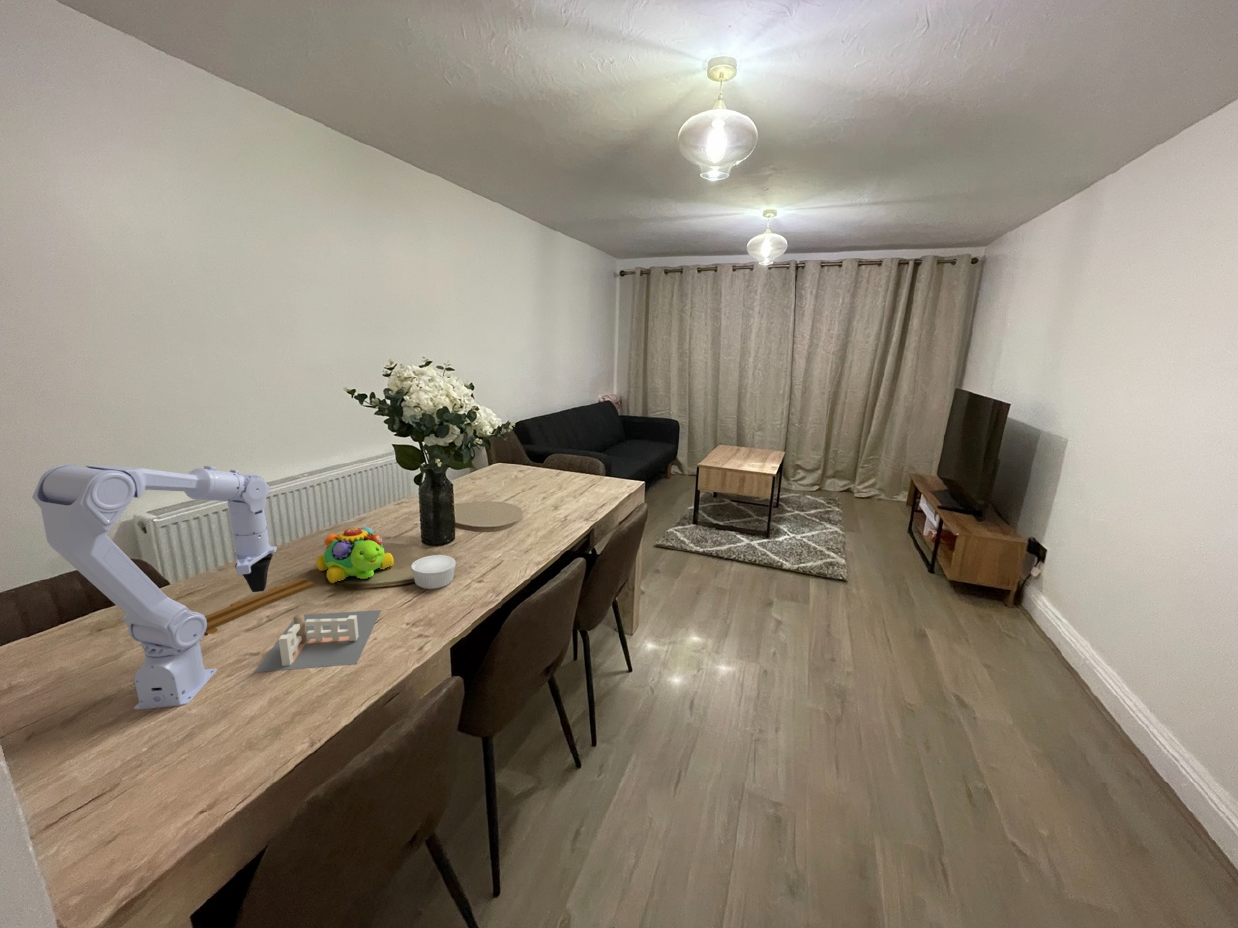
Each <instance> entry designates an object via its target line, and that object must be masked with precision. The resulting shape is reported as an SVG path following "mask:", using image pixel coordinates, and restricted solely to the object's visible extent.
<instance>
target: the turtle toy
mask: <svg viewBox="0 0 1238 928" xmlns="http://www.w3.org/2000/svg"><path fill="white" fill-rule="evenodd" d="M324 544H325V545H326V547H325V548H326V549H325V552H324V554H321V555H320V556H317V558H316V560H315V561H316V564H315V565H316V568H317V569H318V571H320V572H324V571H325V570H326V579H327V580H328V582H329V583H330V584H336V583H335V582H337V581H339V580H342V579H345V580H346V579H347V578H349V577H356V578H357V579H359V578H360V580H364V579H369V578H371V576H372V577H373V576H375V575H374V574H375V573H374V571H375V570H379V569H378V568H385V567H389V566H392V565H393V566H394V563H395V562H394V561H395V560H394V557H393V555H392V554H391V553H390V552H385V549H384V547H383V538H382V537H381V536H380V535H379V534H376V533H374V532H373V529H372V528H370V527H367V526H362V527H361V528H360V527H350V528H347V529H344V531H343V532H341V533H337V535H336V534H335V533H330V534H329V535H328V536H327V537H326V538H325V540H324ZM393 566H392V567H393ZM327 569H328V570H327ZM346 577H347V578H346ZM368 577H369V578H368ZM337 583H338V582H337Z"/></svg>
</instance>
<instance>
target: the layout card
mask: <svg viewBox="0 0 1238 928" xmlns="http://www.w3.org/2000/svg"><path fill="white" fill-rule="evenodd" d="M381 612H382V609H376V610H361V611H360V610H358V611H345V612H341V611H340V612H329V613H326V612H325V613H313V614H303V615H304V620H305V621H306V620H307V619H333V618H348V617H349V616H350V615H357V625H358V635H359V637H358V638H357V640H356V641H349V636H340V639H339V640H338V641H332V637H324V639H323V640H322V641H316V640H315V637H307V642H306V643H304V644H299V645H298V652H297V653H296V655H293V662H292V664H291V665H288V666H282V660H281V653H280V646H279V639H278V640H277V641H276V643H275V644H274V646H272V648H271V650H270V651H269V652H268V654H267V655H266V656H265V657H264V659H262V661H261V663H260V664H259V665H258V667H257V668H256V670H254V672H253V673H254V674H255V673H264V672H265V673H266V672H276V671H279V672H280V671H291V670H302V669H311V668H312V669H315V668H324V667H325V668H326V667H327V668H328V667H337V666H338V667H339V666H347V665H348V666H350V665H357V663H358V661H359V660H360V658H361V656H362V653H363V651H364V649H365V646H366V645H367V643H368V640H369V639H370V636H371V634H372V632H373V630H374V627H375V625H376V622H377V620H378V619H379V616H380V614H381ZM293 625H294V619H293V620H292V621H291V623H290V624H289V625H288V626H287V628H286V629H285V631H283V633H282V635H287V633H288V630H289V629H290V628H292V627H293ZM305 628H306V633H307V632H308V631H310V630H314V626H305ZM322 628H323V630H331V625H328V626H322ZM342 629H348V625H339V630H342ZM306 636H307V634H306Z"/></svg>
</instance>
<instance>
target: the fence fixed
mask: <svg viewBox="0 0 1238 928" xmlns="http://www.w3.org/2000/svg"><path fill="white" fill-rule="evenodd" d="M304 615H305V614H298V615H295V616H294V617H293V620H294V625H293V627H292V628H290V629H289V630H288V633H287V635H283V634H281V635H280V637H279V638H278V640H279V646H280V653H281V660H282V666H288V665H291V664H292V662H293V655H296V653H297V652H298V645H299V644H304V643H306V642H307V636H306V628H305V620H304Z"/></svg>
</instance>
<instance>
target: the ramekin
mask: <svg viewBox="0 0 1238 928" xmlns="http://www.w3.org/2000/svg"><path fill="white" fill-rule="evenodd" d="M456 564H457V561H456V560H455V559H454V558H453V557H451V556H449V555H445V554H444V555H443V554H434V555H428V556H427V555H426V556H424V557H421V558H419V559H417V560H414V562H412V564H411V565H410V569H411V572H412V576H413V580H414V583H415V584H416V586H418V587H419V588H421V589H425V590H435V589H440V588H443V587H446V586H447V585H450V583H451V582H452V581H453V579H454V577H455V576H454V574H455V568H456Z"/></svg>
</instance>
